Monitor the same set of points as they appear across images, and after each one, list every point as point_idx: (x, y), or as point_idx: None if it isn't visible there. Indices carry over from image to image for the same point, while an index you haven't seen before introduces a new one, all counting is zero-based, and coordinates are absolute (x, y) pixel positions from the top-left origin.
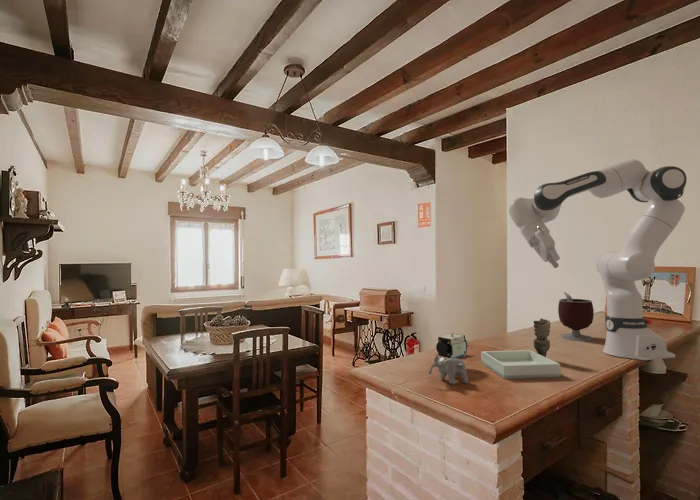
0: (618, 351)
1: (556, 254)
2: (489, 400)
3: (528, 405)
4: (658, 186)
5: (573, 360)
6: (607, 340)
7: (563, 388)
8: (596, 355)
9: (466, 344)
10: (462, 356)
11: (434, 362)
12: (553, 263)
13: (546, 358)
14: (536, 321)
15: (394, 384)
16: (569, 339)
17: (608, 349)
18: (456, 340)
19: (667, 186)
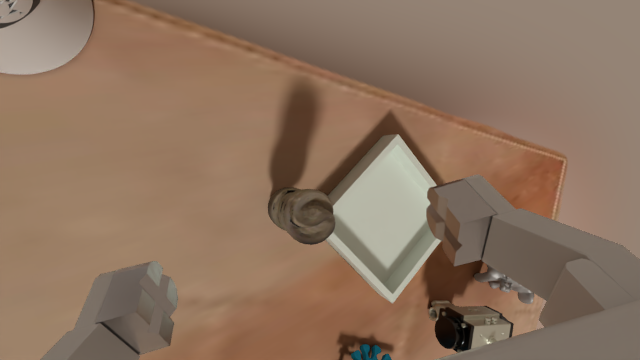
0: (81, 20)
1: (513, 219)
2: (521, 189)
3: (513, 144)
4: None
5: (228, 138)
6: (31, 43)
7: (435, 119)
8: (112, 90)
9: (456, 312)
10: (367, 345)
11: (521, 301)
12: (163, 332)
13: (371, 168)
14: (334, 228)
15: (532, 315)
16: None
17: (62, 50)
18: (491, 321)
19: None
